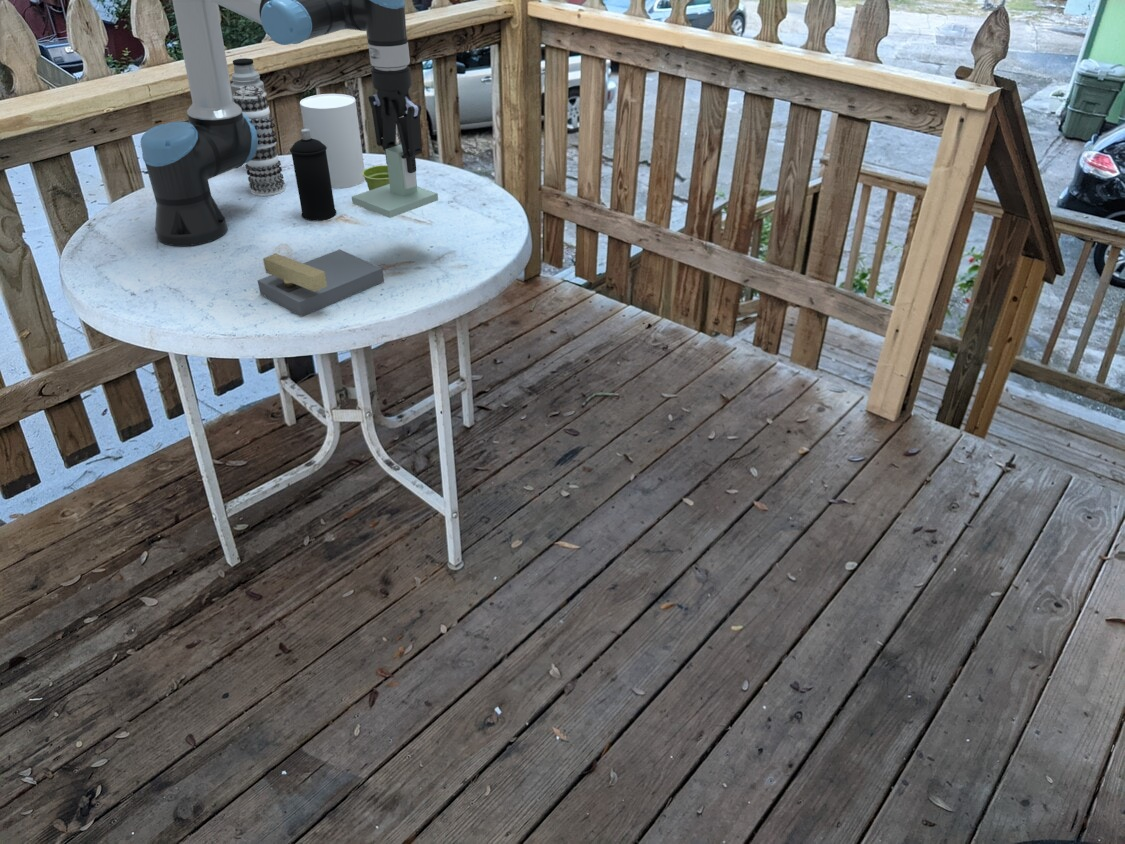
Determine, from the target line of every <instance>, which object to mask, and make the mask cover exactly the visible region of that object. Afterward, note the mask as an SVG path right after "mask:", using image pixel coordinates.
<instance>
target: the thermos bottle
mask: <svg viewBox="0 0 1125 844" xmlns="http://www.w3.org/2000/svg"><path fill="white" fill-rule="evenodd" d="M232 64H233V73H232V74H231V80H232V83H231V82H230V84H231V90H232V95H233V94H234V93H235V91H236V89H237V88H239V87H242V86H258V87H260V88H261V89H262V90H263V91H264V92H266V88H265V86H264V85H265V84H264V82H263V80H261V78H260V77H261V75H260V74H259V72H258V71H256V70H255V67H254V60H253V59H252V58H247V57H246V58H236V59H233V60H232ZM269 116H271V115H270V114H269ZM271 122H272V121H271ZM271 122H270V123H271Z"/></svg>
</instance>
